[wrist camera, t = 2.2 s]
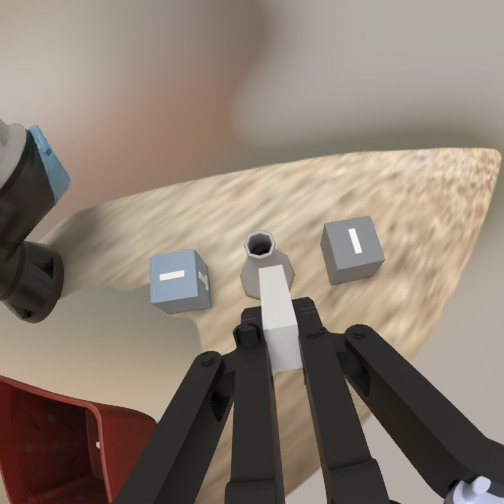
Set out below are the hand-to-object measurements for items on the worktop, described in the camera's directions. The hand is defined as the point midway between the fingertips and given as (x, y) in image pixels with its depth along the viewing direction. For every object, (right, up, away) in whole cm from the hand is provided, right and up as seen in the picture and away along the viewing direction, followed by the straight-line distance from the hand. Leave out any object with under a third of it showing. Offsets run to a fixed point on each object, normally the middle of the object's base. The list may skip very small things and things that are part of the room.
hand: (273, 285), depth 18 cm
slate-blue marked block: (-10, -3, +20) cm, 23 cm away
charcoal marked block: (+11, +1, +19) cm, 22 cm away
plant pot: (-20, -26, +12) cm, 35 cm away
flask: (+1, -1, +20) cm, 20 cm away
